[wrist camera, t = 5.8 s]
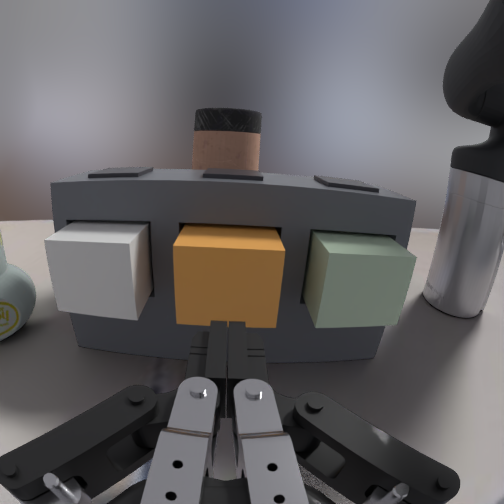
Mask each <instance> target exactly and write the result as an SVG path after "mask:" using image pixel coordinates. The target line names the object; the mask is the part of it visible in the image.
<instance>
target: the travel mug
mask: <svg viewBox="0 0 504 504" xmlns="http://www.w3.org/2000/svg"><path fill="white" fill-rule="evenodd" d="M261 118H262V116H261V113H260V112H257V111H251V110H245V109H233V108H205V109H198V110H196V115H195V128H194V130H195V131H194V144H193V161H192V169H194V170H207V169H208V168H220V169H240V170H257V171H258V163H259V149H260V133H261Z"/></svg>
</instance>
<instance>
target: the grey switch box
mask: <svg viewBox="0 0 504 504" xmlns="http://www.w3.org/2000/svg"><path fill="white" fill-rule="evenodd" d="M51 197H52V198H51V199H52V211H53V221H54V230H55V233H56V232H57V231H59V230H61V229H62V228H64V227H65V226H67V225H69V224H70V223H72V222H74V221H75V220H117V221H151V246H152V264H153V279H154V288H153V290H152V292H151V294H150V296H149V298H148V300H147V302H146V304H145V306H144V308H143V310H142V312H141V314H140V316H139V319H138V320H128V319H119V318H110V317H102V316H94V315H86V314H79V313H72V312H70V316H71V320H72V324H73V328H74V331H75V335H76V338H77V342H78V345H79V346H81V347H86V348H92V349H99V350H105V351H112V352H119V353H126V354H134V355H142V356H151V357H161V358H172V359H184V360H188V358H189V352H190V348H191V341H192V338H193V336H194V335H195V334H196V333H197V332H198V331H208V332H209V331H210V326H203V325H187V324H177V322H176V307H175V288H174V263H173V245H174V243H175V241H176V239H177V238H178V236H179V234H180V232H181V231H182V229H183V227H184V225H185V224H186V223H208V224H230V225H250V226H268V227H275V228H276V230H277V233H278V235H279V237H280V239H281V242H282V244H283V246H284V249H285V259H284V267H283V276H282V284H281V292H280V300H279V308H278V315H277V323H276V328H251V327H246V333H257V334H258V335H259V336H260V337H261V339H262V340H263V344H264V351H265V359H266V363H299V362H326V361H344V360H358V359H370V358H374V357H375V354H376V351H377V348H378V346H379V343H380V340H381V337H382V334H383V331H384V328H385V326H368V327H341V328H315V326H314V323H313V321H312V318H311V316H310V313H309V311H308V308H307V306H306V303H305V301H304V298H303V296H302V293H301V292H302V286H303V280H304V273H305V266H306V259H307V252H308V245H309V238H310V230H311V229H317V230H332V231H346V232H360V233H372V234H385V235H387V236H389V237H390V238H391V239H393V240H394V241H396V242H397V243H398V244H400V245H401V246H402V247H404V248H405V249H406V250H407V246H408V241H409V237H410V232H411V227H412V222H413V217H414V211H415V206H416V201H415V200H413V199H410V198H408V197H406V196H403V195H400V194H398V193H396V192H393V191H391V190H388V189H386V188H383V187H381V186H378V185H373V184H366V183H364V182H361V181H357V180H350V179H342V178H333V177H324V176H314V177H307V176H297V175H284V174H273V173H260V171H257V170H240V169H220V168H208V169H207V170H194V169H153V167H128V168H108V169H104V170H92V171H88V172H84V173H81V174H77V175H74V176H71V177H67V178H64V179H61V180H58V181H55V182H51ZM228 330H229V327H227V350H226V362H228Z"/></svg>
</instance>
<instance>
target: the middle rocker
mask: <svg viewBox="0 0 504 504" xmlns="http://www.w3.org/2000/svg"><path fill="white" fill-rule="evenodd" d="M284 259H285V249H284V246H283V244H282V242H281V239H280V237H279V235H278V233H277V230H276V228H275V227H268V226H250V225H230V224H208V223H186V224H185V225H184V227H183V229H182V231H181V232H180V234H179V236H178V238H177V239H176V241H175V243H174V245H173V263H174V288H175V307H176V322H177V324H187V325H203V326H210V323H211V320H215V321H227V327H229V321H242V322H245V323H246V327H251V328H276V323H277V315H278V308H279V300H280V292H281V284H282V276H283V267H284Z"/></svg>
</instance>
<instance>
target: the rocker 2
mask: <svg viewBox="0 0 504 504" xmlns="http://www.w3.org/2000/svg"><path fill="white" fill-rule="evenodd" d="M416 258H417V257H416V256H414V255H413V254H412V253H410V252H409V251H408V250H406V249H405V248H404V247H402V246H401V245H400V244H398V243H397V242H396V241H394V240H393V239H391V238H390V237H389V236H387V235H385V234H372V233H360V232H346V231H332V230H317V229H311V230H310V238H309V245H308V252H307V259H306V266H305V273H304V280H303V286H302V292H301V293H302V296H303V298H304V301H305V303H306V306H307V308H308V311H309V313H310V316H311V318H312V321H313V323H314V326H315V328H341V327H368V326H387V325H397V323H398V320H399V317H400V314H401V311H402V308H403V304H404V301H405V298H406V295H407V291H408V288H409V284H410V281H411V277H412V274H413V270H414V266H415V262H416Z"/></svg>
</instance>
